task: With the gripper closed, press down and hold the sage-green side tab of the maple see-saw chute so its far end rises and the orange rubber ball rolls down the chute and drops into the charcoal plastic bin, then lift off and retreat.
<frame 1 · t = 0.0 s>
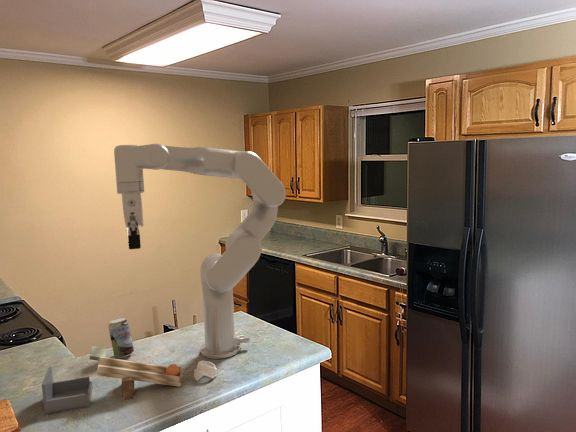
hand: (134, 245, 136), 37 cm above the worktop, tool pointing down, fingers open, 9 cm apart
beverage can: (122, 356, 147), on the worktop
fulcrum: (128, 390, 125), on the worktop
bin: (70, 400, 120), on the worktop
lever: (135, 364, 129), point 5 cm above the worktop, hinge at 19.0°, touching ball
grey hollow rounded piece: (205, 376, 132), on the worktop
ball: (172, 370, 128), point 3 cm above the worktop, tilted 17°, touching lever
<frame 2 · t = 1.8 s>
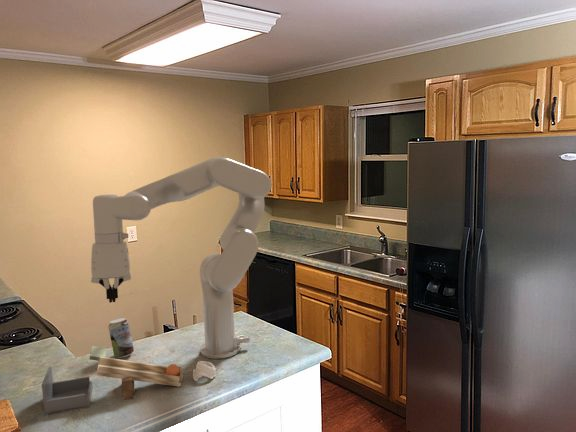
hand: (112, 300, 133), 22 cm above the worktop, tool pointing down, fingers closed
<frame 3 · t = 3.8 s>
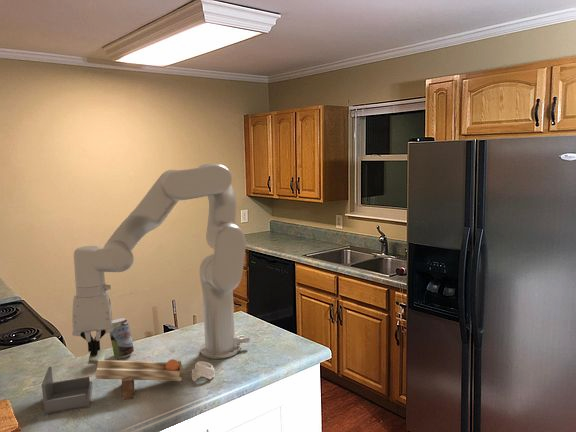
hand: (94, 353, 131), 8 cm above the worktop, tool pointing down, fingers closed
lever: (135, 364, 129), point 5 cm above the worktop, hinge at 12.2°, touching ball, gripper
ball: (172, 366, 128), point 5 cm above the worktop, tilted 11°, touching lever
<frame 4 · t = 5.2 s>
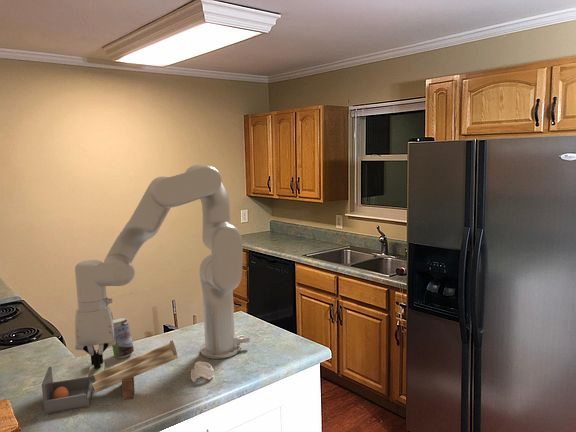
hand: (97, 366, 132), 4 cm above the worktop, tool pointing down, fingers closed
lever: (132, 361, 129), point 6 cm above the worktop, hinge at -15.5°, touching gripper
ball: (60, 394, 119), point 2 cm above the worktop, tilted 111°, touching bin
everything else where it was.
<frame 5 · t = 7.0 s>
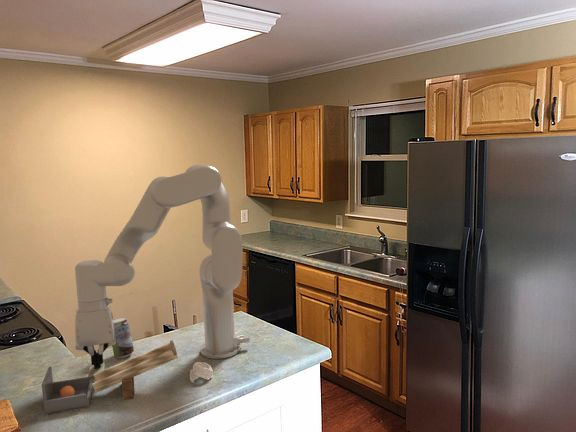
hand: (97, 366, 132), 4 cm above the worktop, tool pointing down, fingers closed
ball: (67, 393, 120), point 2 cm above the worktop, tilted 158°, touching bin
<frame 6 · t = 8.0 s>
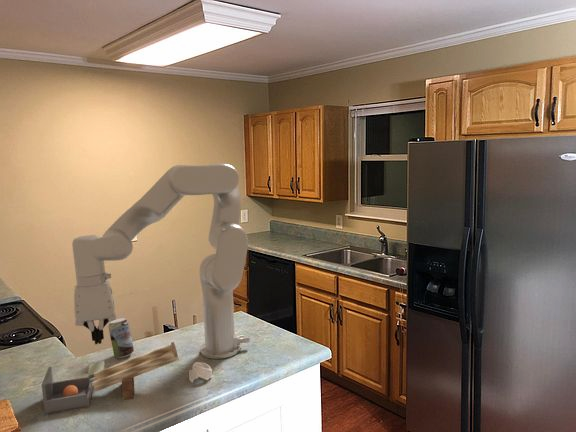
hand: (98, 342, 131), 11 cm above the worktop, tool pointing down, fingers closed
lever: (132, 362, 129), point 6 cm above the worktop, hinge at -13.1°
ball: (70, 392, 120), point 2 cm above the worktop, tilted 176°, touching bin
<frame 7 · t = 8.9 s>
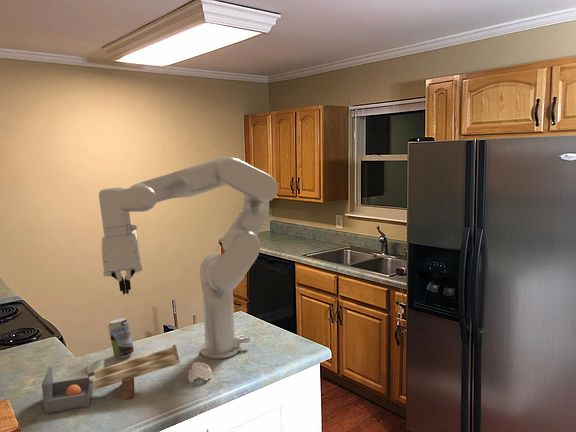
hand: (125, 292, 134), 23 cm above the worktop, tool pointing down, fingers closed
lever: (132, 362, 129), point 6 cm above the worktop, hinge at -9.1°
ball: (73, 391, 120), point 2 cm above the worktop, tilted 153°, touching bin
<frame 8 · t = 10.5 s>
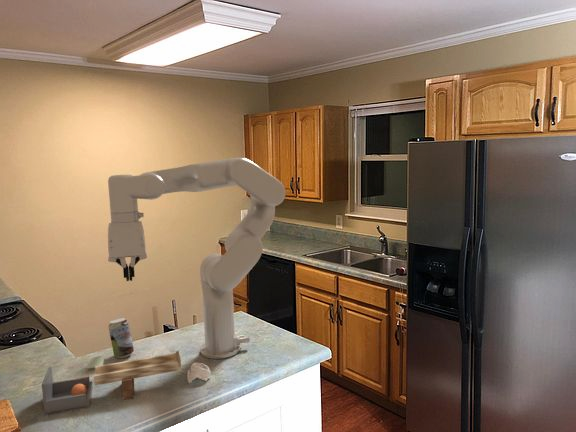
hand: (129, 279, 135), 27 cm above the worktop, tool pointing down, fingers closed
lever: (133, 362, 129), point 6 cm above the worktop, hinge at -0.7°
ball: (78, 390, 121), point 2 cm above the worktop, tilted 112°, touching bin
at the end: ball inside the target area on the bin (2.3 cm from its centre), point 2.3 cm above the bin's base; ball touching bin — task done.
